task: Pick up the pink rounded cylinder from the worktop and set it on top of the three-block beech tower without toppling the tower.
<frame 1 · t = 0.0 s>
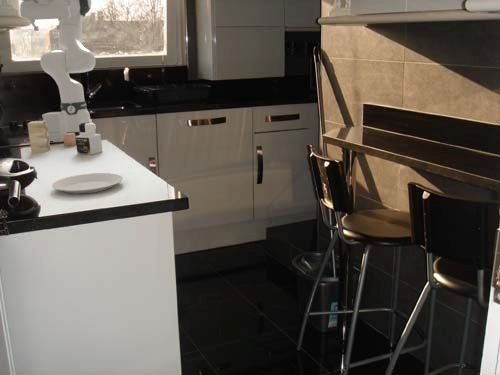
hand: (47, 30, 250), 48 cm above the worktop, tool pointing down, fingers open, 8 cm apart
pink rounded cylinder: (70, 145, 252), on the worktop
supplement box: (56, 141, 265), on the worktop
medicine bottle: (90, 153, 234), on the worktop
tower mid: (39, 141, 242), point 4 cm above the worktop, touching tower base, tower top
tower top: (38, 131, 241), point 8 cm above the worktop, touching tower mid
plate: (88, 189, 179), on the worktop
tower base: (41, 150, 243), on the worktop, touching tower mid
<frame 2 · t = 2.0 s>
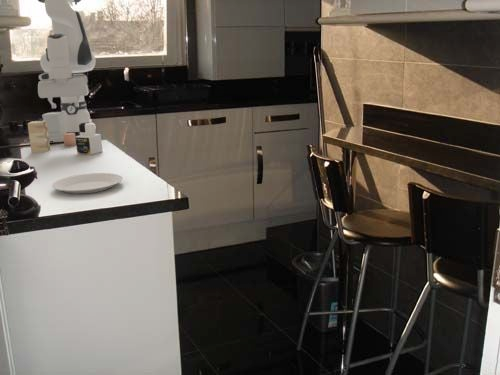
hand: (65, 107, 248), 16 cm above the worktop, tool pointing down, fingers open, 8 cm apart
nothing on the worktop moved.
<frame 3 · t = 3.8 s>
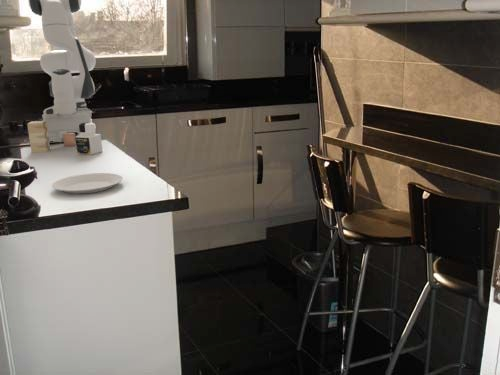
hand: (69, 141, 252), 2 cm above the worktop, tool pointing down, fingers closed on pink rounded cylinder, 5 cm apart
pink rounded cylinder: (70, 145, 252), on the worktop, touching gripper
everything else where it was.
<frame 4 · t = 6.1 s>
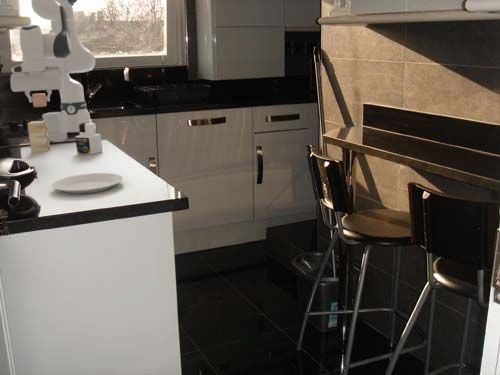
hand: (39, 101, 239), 20 cm above the worktop, tool pointing down, fingers closed on pink rounded cylinder, 5 cm apart
pink rounded cylinder: (40, 106, 239), point 18 cm above the worktop, touching gripper
everything else where it was.
when the fingers open (15 cm above the worktop, at t = 7.7 s): pink rounded cylinder drops 1 cm, resting on tower top.
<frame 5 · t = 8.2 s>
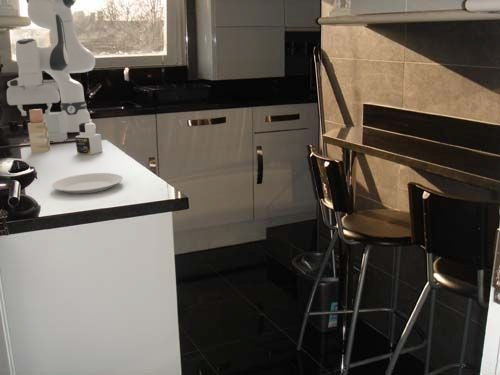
hand: (36, 115, 239), 15 cm above the worktop, tool pointing down, fingers open, 8 cm apart
pink rounded cylinder: (37, 122, 240), point 12 cm above the worktop, touching tower top
tower top: (38, 131, 241), point 8 cm above the worktop, touching pink rounded cylinder, tower mid
everything else where it was.
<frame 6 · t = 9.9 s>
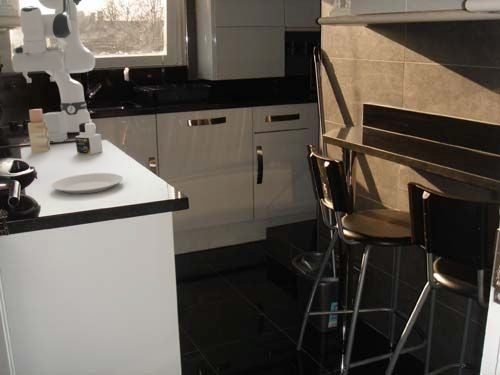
hand: (41, 82, 245), 27 cm above the worktop, tool pointing down, fingers open, 8 cm apart
nothing on the worktop moved.
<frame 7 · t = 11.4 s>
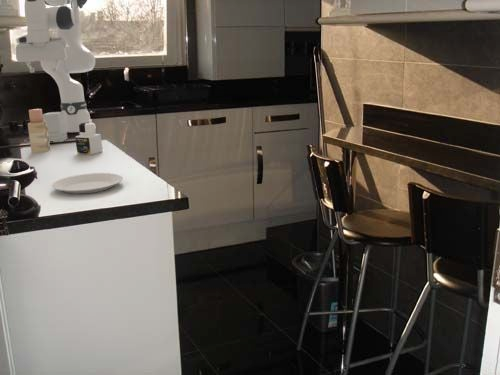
hand: (43, 71, 248), 31 cm above the worktop, tool pointing down, fingers open, 8 cm apart
nothing on the worktop moved.
at the end: pink rounded cylinder 0.1 cm off-centre on the tower top, point 4.0 cm above the tower top's base; tower top tilted 0°; the gripper is holding nothing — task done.
